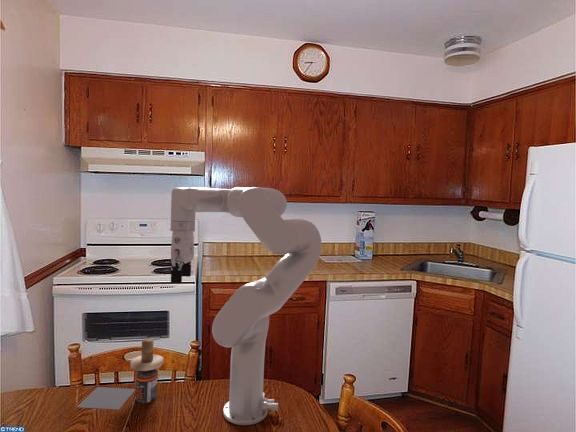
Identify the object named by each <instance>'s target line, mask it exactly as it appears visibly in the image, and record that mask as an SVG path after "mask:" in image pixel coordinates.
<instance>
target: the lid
mask: <svg viewBox="0 0 576 432" xmlns="http://www.w3.org/2000/svg"><path fill="white" fill-rule="evenodd" d="M154 341H155V340H154V338H144V339H142V340H141V355H137V356H136V357H134V358H132V360H130V369H131V370H134V371H137V372H138V371H149V370H154V369H156V370H157V369H159V368H160V367H162V366H163V364H164V357H163V356H161V355H159V354H154Z"/></svg>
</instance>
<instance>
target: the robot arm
mask: <svg viewBox="0 0 576 432" xmlns="http://www.w3.org/2000/svg"><path fill="white" fill-rule="evenodd" d="M170 198H171V199H170V207H171V208H170V227H169V228H170V230H169V231H170V232H172V233H171V234H172V235H171V244H170V245H171V246H170V262H171V263H170V266H171V267H170V283H171V284H182V283H183V281H182V280H183V277H186V278H187V277H189V278H191V276H192V261H193V260H194V259H195V238H194V237H195V235H194V232H195V231H196V213H226V214H227V213H228V214H230V215H232V216H234V217H236V218H243V220H244V222H245V223H246V224H247V226H248V228H249V229H251V231H252V232H253V234H254V235H255V237H257V239H258V241H259V242H260V244H262V245H263V246H264V248H265V249H266V250H268V251H269V252H270V253H272V254H273V255H274V254H275V255H278V256H279V255H280V256H281V255H283V256H282V257H281V258H280V259H279V260H278V261H277V262H276V263H274V264H275V265H273V267H272V268H271V269H270V271H268V272H267V274H266V275H265V276H264V277H262V278H261V279H258V280H254V281H251V282H248V283H245V284H243V285H241V286H240V287H239V288H237V289H236V290H235V291H234V292H233V293H232V294H231V296H230V298H229V299H227V301H226V302H225V304H224V305H223V306H222V307H221V309H220V310H219V311H218V313H217V314H216V316H215V317H214V319H213V321H212V326H211V329H212V330H211V333H212V336H213V339H214V341H215V342H216V343H217V344H218V345H219V346H220V347H224V348H231V351H230V352H231V353H230V374H229V394H228V395H229V396H228V397H229V398H228V399H229V401H228V402H226V403H225V404H224V406H223V408H222V409H223V412H222V414H223V417H224V418H225V420H226V421H227V422H230V423H231V424H234V425H238V426H250V425H251V426H252V425H254V424H255V425H256V424H258V423H261V422H262V421H263V420H264V419H265V418H266V417H267V416H268V411H279V402H275V398H267V397H265V394H266V393H265V392H264V375H265V372H264V371H265V357H266V356H265V355H266V353H265V352H266V343H267V341H266V340H267V337H268V331H269V326H270V316H271V315H273V314H274V313H276V312H278V311H279V310H280V309H282V307H283V306H284V305H285V303H286V302H287V301H288V300H289V299H290V298H291V297H292V296H293V294H294V293H295V292H296V291H297V290H298V289H299V287H300V286H301V285H302V283H304V281H305V280H306V279H307V277H309V276H310V274H311V273H312V271H313V270H314V269H315V267H316V266H317V264H318V262H319V259H320V258H321V253H322V244H323V243H322V237H321V234H320V231H319V229H318V227H317V226H316V225H315V224H314V223H312V222H311V221H309V220H307V219H300V218H295V219H291V218H290V219H284V218H283V217H282V215H284V213H285V212H286V209H287V206H288V204H287V203H288V202H287V201H288V200H287V199H286V196H285V195H284V193H282V192H281V191H280V190H278V189H275V188H271V187H270V188H269V187H260V186H257V187H256V186H255V187H254V186H252V187H240V186H236V187H234V188H231V189H230V188H229V189H227V188H212V187H199V186H198V187H196V186H192V187H174V188H172V190H171V197H170Z"/></svg>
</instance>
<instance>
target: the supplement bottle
mask: <svg viewBox="0 0 576 432" xmlns="http://www.w3.org/2000/svg"><path fill="white" fill-rule="evenodd" d="M135 389H136V390H135V398H134V399H135V402H136V403H137V404H148V403H149V404H150V403H152V402H153V401H154V402H155V400H156V399H157V397H158V396H157V395H158V390H157V389H158V370H157V368H156V369H154V370H149V371H137V372H136V374H135Z"/></svg>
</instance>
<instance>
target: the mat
mask: <svg viewBox="0 0 576 432" xmlns="http://www.w3.org/2000/svg"><path fill="white" fill-rule="evenodd" d="M135 392H136V388H123V387H122V388H121V387H105V386H104V387H103V386H97V387H96V388H94V390H93V391H91V392H90V394H88V395H87V396H86V397H85V398H84V399H83V400H82V401H81V402H80V403H79V404H78V405H77V406H76V408H80V409H82V408H83V409H96V410H97V409H101V410H114V411H115V410H121V408H122V407H123V405H125V404H126V402H127V401H128V400H129V398H130V397H131V396H132V395H133V393H135Z"/></svg>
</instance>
